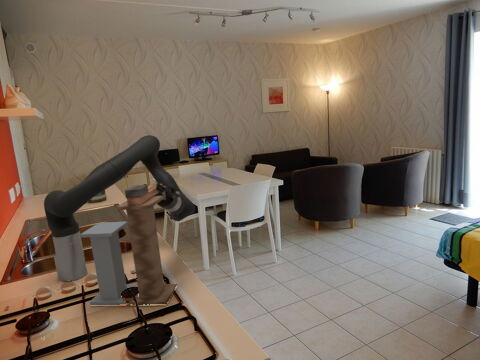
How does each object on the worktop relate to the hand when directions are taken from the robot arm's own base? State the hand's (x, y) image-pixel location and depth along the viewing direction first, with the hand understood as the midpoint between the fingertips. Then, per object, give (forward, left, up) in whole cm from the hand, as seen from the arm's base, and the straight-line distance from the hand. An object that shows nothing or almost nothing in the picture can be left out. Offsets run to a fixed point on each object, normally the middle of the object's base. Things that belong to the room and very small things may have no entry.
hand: (150, 186), depth 114 cm
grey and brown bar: (0, -4, -2) cm, 5 cm away
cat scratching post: (0, -9, -34) cm, 36 cm away
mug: (-98, +123, -35) cm, 161 cm away
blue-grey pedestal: (-13, -9, -34) cm, 38 cm away
